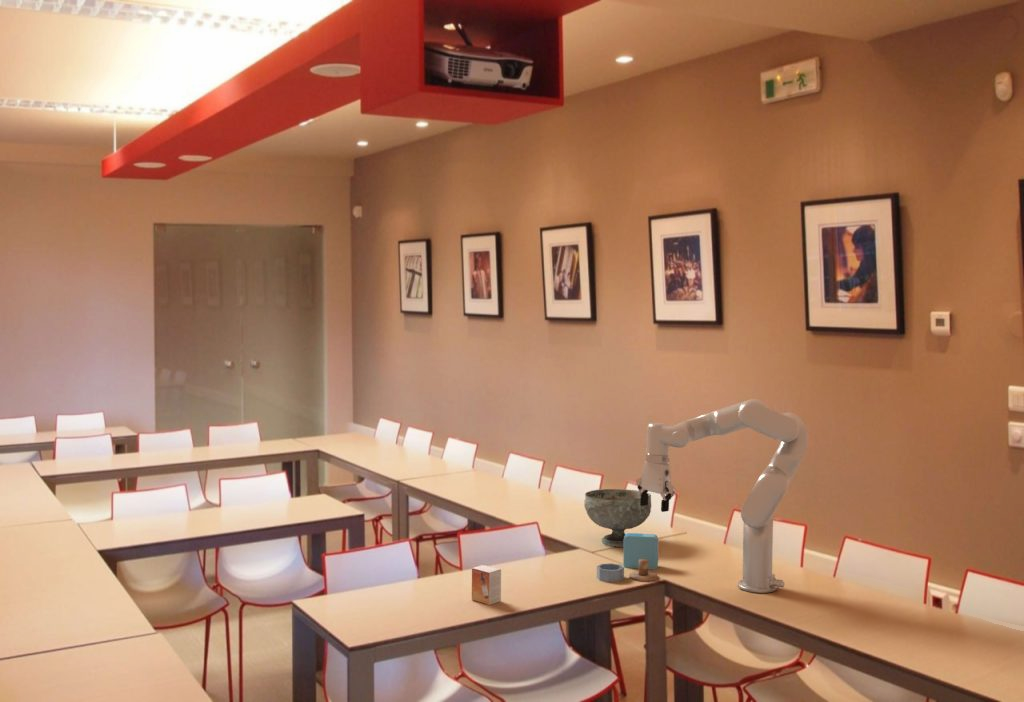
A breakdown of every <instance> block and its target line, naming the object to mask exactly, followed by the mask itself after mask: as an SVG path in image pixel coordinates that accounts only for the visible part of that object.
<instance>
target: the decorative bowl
mask: <svg viewBox="0 0 1024 702" xmlns="http://www.w3.org/2000/svg"><path fill="white" fill-rule="evenodd" d="M647 494H648V505H645V506H640V499H641V494H640V493H639V490H638V489H637V490H635V489H628V488H627V489H625V488H602V489H594V490H589V491H587V492H585V493H584V497H585V498H584V500H583V501H584V504H583V505H584V509H585V511H586V514H587V516H588V518H589V519H590V520H591V522H593V523H594V524H596V526H599V527H601V528H604V529H610V530H611V531H612V533H610V534H606V535H604V536H603V537H602V538H601V544H602V543H603V544H602V545H604V544H605V546H608V545H609V546H608V547H614V546H616V548H617V547H618V548H619V547H620V548H623V540H624V537H625V535H626V534H627V533H625V531H626V530H630V529H634V528H636V527H639V526H640V525H642V524H643V523H644V522H645V521H646V520H647V519H648V518H649V517H650V514H651V512H652V495H651V494H652V493H649V492H647Z"/></svg>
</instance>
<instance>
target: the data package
mask: <svg viewBox="0 0 1024 702" xmlns="http://www.w3.org/2000/svg"><path fill="white" fill-rule="evenodd" d="M625 534H626V535H625V537H624V540H623V547H622V548H623V550H622V551H623V552H622V553H623V559H622V560H623V565H622V566H623V567H624V568H628V569H631V568H632V569H639V559H647V560H648V570H649V569H650V570H651V569H652V570H657V569H658V565H659V536H657V534H654V533H640V532H639V533H637V532H634V533H633V532H632V533H631V532H630V533H629V532H627V533H625Z"/></svg>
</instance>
